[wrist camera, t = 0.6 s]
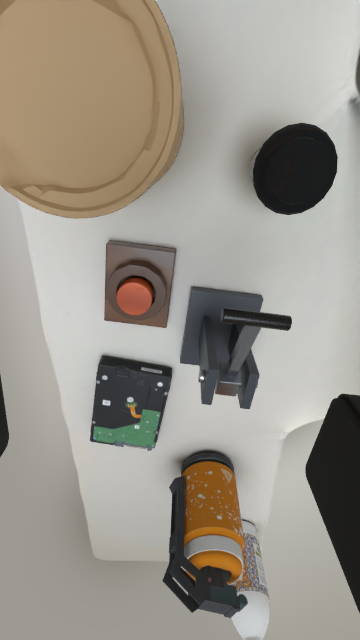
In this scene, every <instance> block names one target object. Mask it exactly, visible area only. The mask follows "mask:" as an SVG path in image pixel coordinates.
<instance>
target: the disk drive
mask: <svg viewBox="0 0 360 640" xmlns="http://www.w3.org/2000/svg"><path fill="white" fill-rule="evenodd" d="M171 378H172V368H167V367H163V366H158V365H153V364H147V363H142V362H136V361H130V360H124V359H119V358H113V357H106V356H102V357H101V360H100V362H99V365H98V371H97V377H96V390H95V398H94V408H93V417H92V426H91V436H90V441H91V442H97V443H103V444H110V445H114V444H115V446H121V447H123V446H124V445H125V446H130V447H132V446H133V447H136V448H143V449H146V448H148V451H149V450H150V451H151V450H152V448H155V445H156V442H157V439H158V433H159V429H160V425H161V421H162V416H163V412H164V408H165V404H166V400H167V395H168V392H169V389H170V383H171Z"/></svg>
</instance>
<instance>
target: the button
mask: <svg viewBox="0 0 360 640" xmlns="http://www.w3.org/2000/svg"><path fill="white" fill-rule="evenodd" d="M116 299H117V303H118V305H119V307H120V308H121V309H122V310H123V311H124V312H126V313H128V314H130V315H140V314H143V313H145V312H146V311H147V310H148V309H149V308H150V306H151V304H152V299H153V289H152V286H151V285H150V283H149V282H148V281H146V280H145V279H143V278H140V277H130V278H128V279H126V280H125V281H124V282H123V283H122V284H121V286H120V288H119V290H118V292H117V296H116Z"/></svg>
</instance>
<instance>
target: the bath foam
mask: <svg viewBox="0 0 360 640" xmlns="http://www.w3.org/2000/svg"><path fill="white" fill-rule="evenodd" d="M241 522H242V529H243V536H244V542H245V548H244V551H243V552H242V558H243V569H242V573H241V575H240V577H239V578H238V579H237V580H236V581H235V582H233V583H231V584H229V585H232V586H236V589H237V596H238V595H240V594H243V595H245V597H246V598H247V601H248V604H247V605H246V606H245V607H244V608H243V609H242V610H241V611H240V612H237V613H236V614H235V615H233V616H232V617H231V619H232V622H233V624H234V625H235V627H236V629H237V631H238V632H239V634H240V636H241V637H242V639H243V640H263V638H264V635H265V632H266V629H267V626H268V621H269V616H270V604H269V596H268V591H267V586H266V580H265V575H264V569H263V564H262V559H261V553H260V548H259V542H258V537H257V532H256V529H255V527H254V526H253V525H252V524H251V523H249V522H247V521H242V520H241Z"/></svg>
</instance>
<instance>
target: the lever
mask: <svg viewBox="0 0 360 640" xmlns="http://www.w3.org/2000/svg"><path fill="white" fill-rule="evenodd" d="M221 322H222V323H230V324H238V325H244V326H243V329H242V331H241V333H240V336H239V338H238V340H237V343H236V345H235V347H234V350H233V352H232V354H231V357H230V359H229V361H228V362H224V361H220V363H219V366H218V367H219V372H218V377H217V381H216V386H215V394H219V395H228V396H236V394H237V393H238V391H239V389H240V387H241V385H242V372H241V367H242V365H243V363H244V361H245V359H246V357H247V355H248V353H249V351H250V349H251V347H252V345H253V343H254V341H255V339H256V337H257V335H258V333H259V331H260V329H261V327H262V328H270V329H278V330H286V331H288V330H289V329H290V328H291V324H292V319H291V317H290V316H286V315H278V314H270V313H262V312H254V311H246V310H238V309H230V308H223V309H222V312H221Z"/></svg>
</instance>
